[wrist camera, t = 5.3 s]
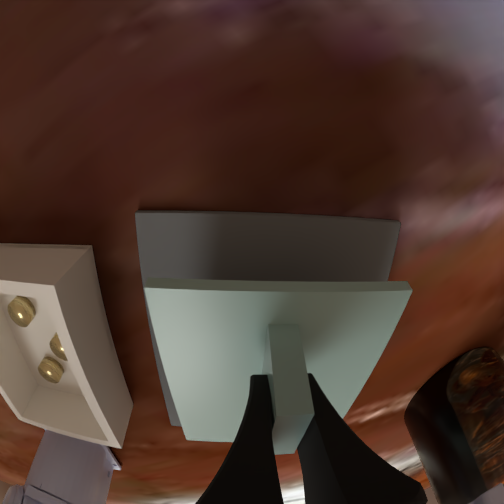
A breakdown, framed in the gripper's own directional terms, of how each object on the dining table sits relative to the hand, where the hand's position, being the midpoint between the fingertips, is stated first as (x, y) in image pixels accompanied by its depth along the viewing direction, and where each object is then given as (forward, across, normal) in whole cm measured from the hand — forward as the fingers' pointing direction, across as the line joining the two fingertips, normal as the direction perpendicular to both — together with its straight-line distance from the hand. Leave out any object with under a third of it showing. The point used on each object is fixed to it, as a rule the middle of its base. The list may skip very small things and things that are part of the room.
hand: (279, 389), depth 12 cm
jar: (+7, -20, +12) cm, 24 cm away
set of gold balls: (+6, +15, +4) cm, 17 cm away
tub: (+6, +15, +4) cm, 17 cm away
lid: (+4, 0, +3) cm, 4 cm away
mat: (+6, 0, +4) cm, 7 cm away
